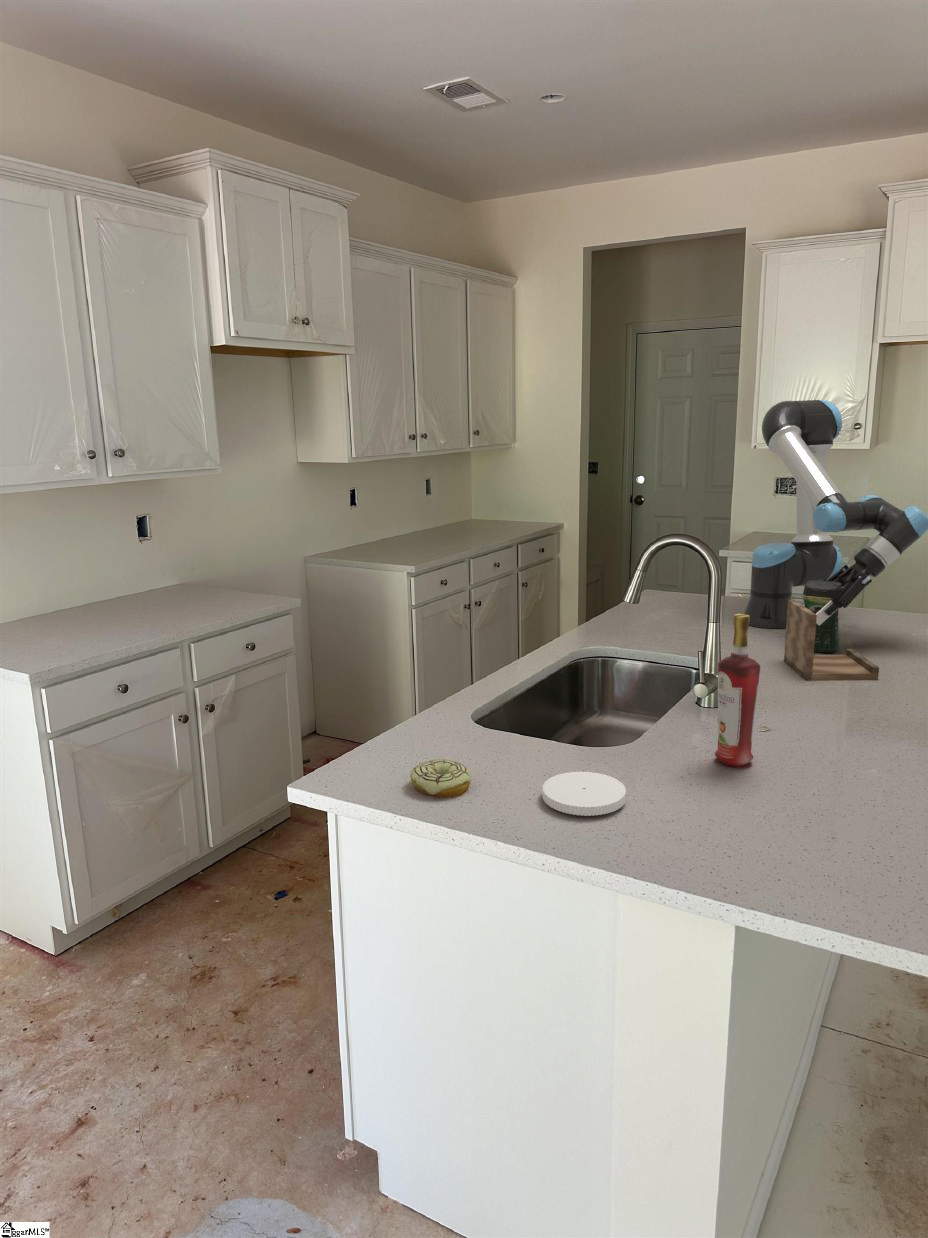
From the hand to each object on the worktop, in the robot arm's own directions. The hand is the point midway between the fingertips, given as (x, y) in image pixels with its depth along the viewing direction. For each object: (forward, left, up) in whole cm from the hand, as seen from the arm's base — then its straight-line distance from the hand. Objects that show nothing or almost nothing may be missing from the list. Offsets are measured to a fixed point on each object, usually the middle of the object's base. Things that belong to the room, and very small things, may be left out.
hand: (808, 617), depth 231 cm
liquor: (+57, -62, -9) cm, 85 cm away
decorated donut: (+48, -116, -9) cm, 126 cm away
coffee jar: (+1, +3, -9) cm, 10 cm away
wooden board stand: (+17, -7, -9) cm, 20 cm away
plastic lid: (+62, -95, -9) cm, 114 cm away
